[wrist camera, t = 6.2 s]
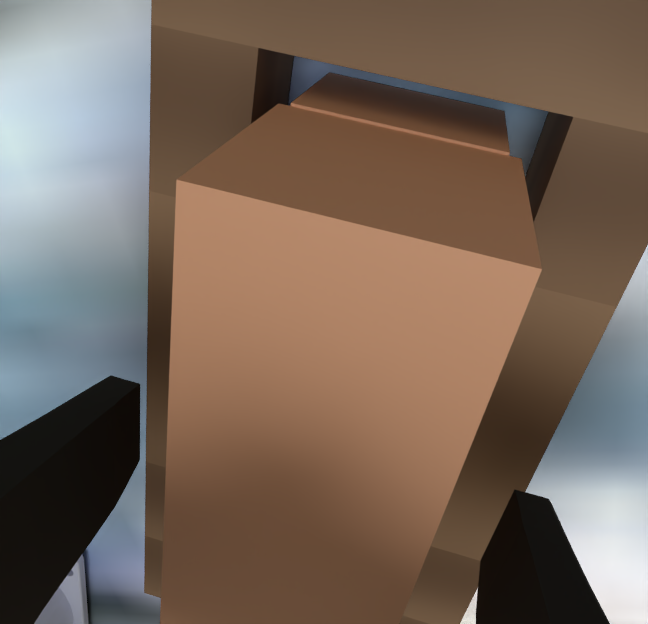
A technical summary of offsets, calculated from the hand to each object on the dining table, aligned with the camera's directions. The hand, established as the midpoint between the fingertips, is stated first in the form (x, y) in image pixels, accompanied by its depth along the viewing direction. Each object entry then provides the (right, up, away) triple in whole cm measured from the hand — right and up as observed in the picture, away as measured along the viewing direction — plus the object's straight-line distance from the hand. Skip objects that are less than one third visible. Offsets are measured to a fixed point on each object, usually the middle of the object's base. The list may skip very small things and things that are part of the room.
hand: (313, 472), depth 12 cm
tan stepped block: (+1, +2, +4) cm, 5 cm away
